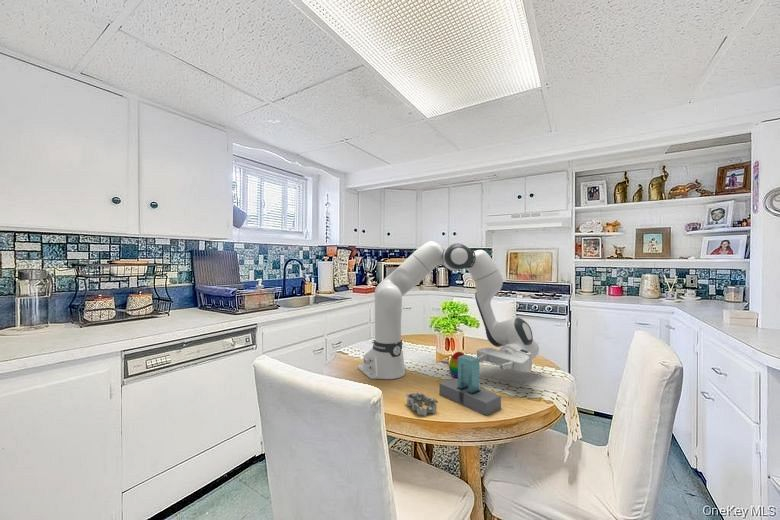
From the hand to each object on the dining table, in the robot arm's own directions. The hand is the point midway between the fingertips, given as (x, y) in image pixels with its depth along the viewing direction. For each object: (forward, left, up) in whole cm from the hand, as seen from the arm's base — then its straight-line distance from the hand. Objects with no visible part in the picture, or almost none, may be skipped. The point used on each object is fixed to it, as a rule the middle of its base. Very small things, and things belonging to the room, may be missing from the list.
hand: (490, 363), depth 121 cm
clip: (0, -13, -10) cm, 16 cm away
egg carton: (-7, -29, -11) cm, 31 cm away
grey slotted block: (0, -13, -10) cm, 16 cm away
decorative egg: (-17, +3, -11) cm, 20 cm away
